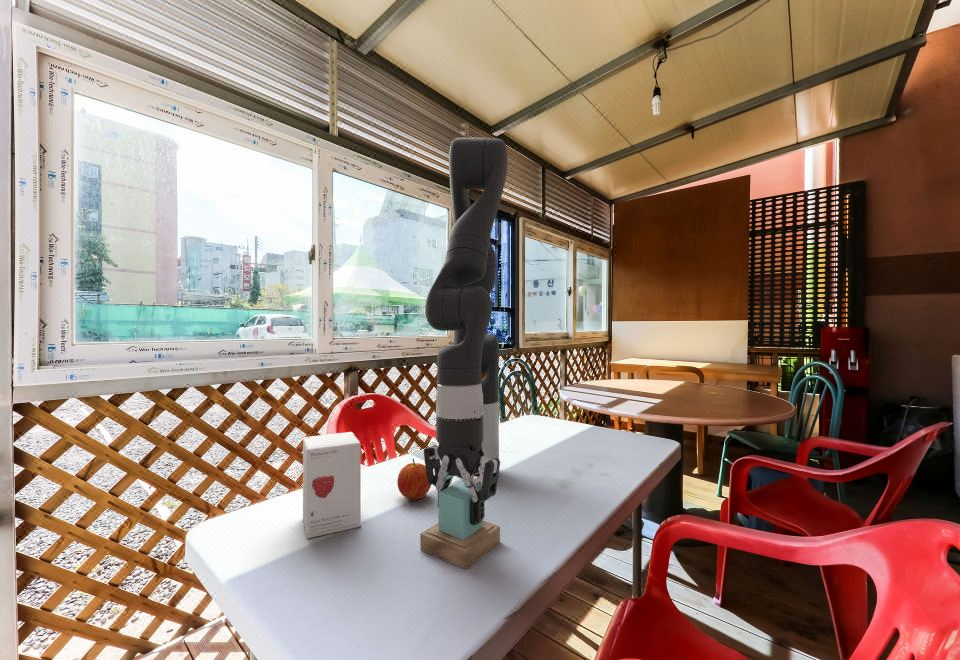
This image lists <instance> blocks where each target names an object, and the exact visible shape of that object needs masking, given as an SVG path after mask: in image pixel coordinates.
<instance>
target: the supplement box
mask: <svg viewBox="0 0 960 660" xmlns="http://www.w3.org/2000/svg"><path fill="white" fill-rule="evenodd" d="M361 449H362V448H361V442H360V440H359V439H358V438H357V437H356V436H355V433H353V432H352V431H348V432H347V431H346V432H337V433H329V434H321V435H311V436H304V437H303V438H302V520H303V525H304V526H303V527H304V531H305V537H306V539H312V538H316V537H319V536H321V537H322V536H325V535H330V534H333V533H337V532H338V533H339V532H343V531H346V530H347V531H348V530H351V529H355V528H360V527H361V526H362V523H361V521H362V520H361V519H362V518H361V517H362V516H361V514H362V512H361V509H362V508H361V504H362V503H361V502H362V501H361V499H362V497H361V495H362V493H361V487H362V486H361V482H362V481H361V479H362V478H361V477H362V476H361V473H362V472H361V471H362V470H361V465H362V464H361V459H362V458H361V457H362V455H361V452H362V451H361Z"/></svg>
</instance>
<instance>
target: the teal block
mask: <svg viewBox="0 0 960 660" xmlns="http://www.w3.org/2000/svg"><path fill="white" fill-rule="evenodd" d="M476 489H477V488H476ZM470 501H472V499H471V496H470V493H469V490H468V488H467V487H465V485H464V483H461V482H455V484H451V485H450V486H449V487H448V488H446V489H444V490H442V491H440V492H439V509H438V523H439V531H441V532H444V533H446V534H449V535H452V536H454V537H457V538H459V539H462V540H465V539H466V538H467V537H469V536H470V535H472V534H473V533H474V532H476V531H477V530H479V529H480V528H481V527H483V521H484V519H483V520H482V521H481V522H480V523H479V524H477V525H476V526H475V525H472V524H471V523H470Z"/></svg>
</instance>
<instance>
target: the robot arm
mask: <svg viewBox="0 0 960 660" xmlns="http://www.w3.org/2000/svg"><path fill="white" fill-rule="evenodd" d="M508 159H509V158H508V148H507V145H506V143H505V142H504V140H503V139H501V138H494V137H456V138H454V139H453V140H452V141H451V143H450V147H449V152H448V170H449V171H448V172H449V174H448V175H449V184H450V185H449V187H450V188H449V189H450V197H451V209H452V211H451V213H452V229H451V231H450V234H449V238H448V243H447V248H446V252H445V253H446V254H445V259H444V263H443V265H442V266H441V268H440V270H439V272H438V274H437V276H436V278H435V280H434V281H433V283H432V285H431V287H430V289H429V291H428V294H427V296H426V299H425V305H424V314H425V318H426V320H427V323H428V325H429V326H430V327H432V329H434V330H437V331H443V332H444V331H445V332H447V331H448V332H449V331H451V332H454V334H453V345H447V346H444V347H442V348H440V349H439V350H438V351H437V356H436V357H437V358H436V366H437V367H436V371H437V372H436V374H437V375H436V376H437V378H436V379H437V381H436V382H437V383H436V384H437V385H436V394H435V395H436V397H435V430H436V431H435V432H436V433H435V437H436V442H437V443H438V444H433V445H430V446H426V447H425V448H424V449H423V458H424V459H423V460H424V465H425V467H426V474H427V482H428V484H429V485H431V486H433V487H435V490H436V491H437V509H438V510H439V492H440V491H442V490H444V489H446V488H448V487H450V486H452V481H453V479H454V477H457V478H459V479H462V482H463V484H464V485H465V487H467V488H468V490H469V493H470V496H471V499H472V501H470V523H471V524H472V525H475V526H476V525H477V524H479V523H480V522H481V521H482V520H483V521H484V519H485V515H486V514H485V513H486V512H485V502H486V501H488V500H489V499H490V498H492V497H494V496H495V495H496V494H497V488H498V482H499V473H500V466H501V461H500V430H499V429H500V427H499V426H500V424H499V423H500V419H499V418H500V417H499V415H500V414H499V410H500V409H499V405H500V403H499V399H500V398H499V370H500V369H499V366H500V342H499V339H498V337H497V335H494V334H488V333H487V331H488V328H489V324H490V321H491V318H492V312H493V303H492V302H493V300H492V298H491V293H492V292H493V290H494V287H495V286H496V274H497V273H496V271H497V256H496V255H497V254H496V251H495V249H494V247H493V244H492V243H491V235H492V231H493V227H494V223H495V220H496V217H497V214H498V210H499V207H500V203H501V200H502V196H503V191H504V188H505V184H506V180H507V174H508V173H507V172H508V166H509V165H508V164H509V163H508V161H509V160H508ZM469 190H475V191H476V190H477V191H478V190H479V191H481V190H482V192H481V194H480V195H479V197H478V198H477V199H476V200H475V201H474V202H473V203H471V201H470V196H469ZM482 373H483V374H485V375H484V377H483V378H482ZM476 488H477V489H476Z"/></svg>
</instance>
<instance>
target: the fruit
mask: <svg viewBox="0 0 960 660" xmlns="http://www.w3.org/2000/svg"><path fill="white" fill-rule="evenodd" d="M411 461H412V463H411V462H410V463H408V464H405V465H404V466H403V467H402V468H401V470H400V471H399V473H398V476H397V481H396V483H397V484H396V485H397V489H398V491H399V493H400V494H401V495H402V496H403V497H405V498H406V499H409V500H412V501H415V500H418V499H422V498H423V497H425V496H426V495H427V494H428V492H429V491H430V489H431V486H432V485H429V484H428V482H427V474H426V467H425V464H423V463H419V462H415V459H414V458H412V460H411Z"/></svg>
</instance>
